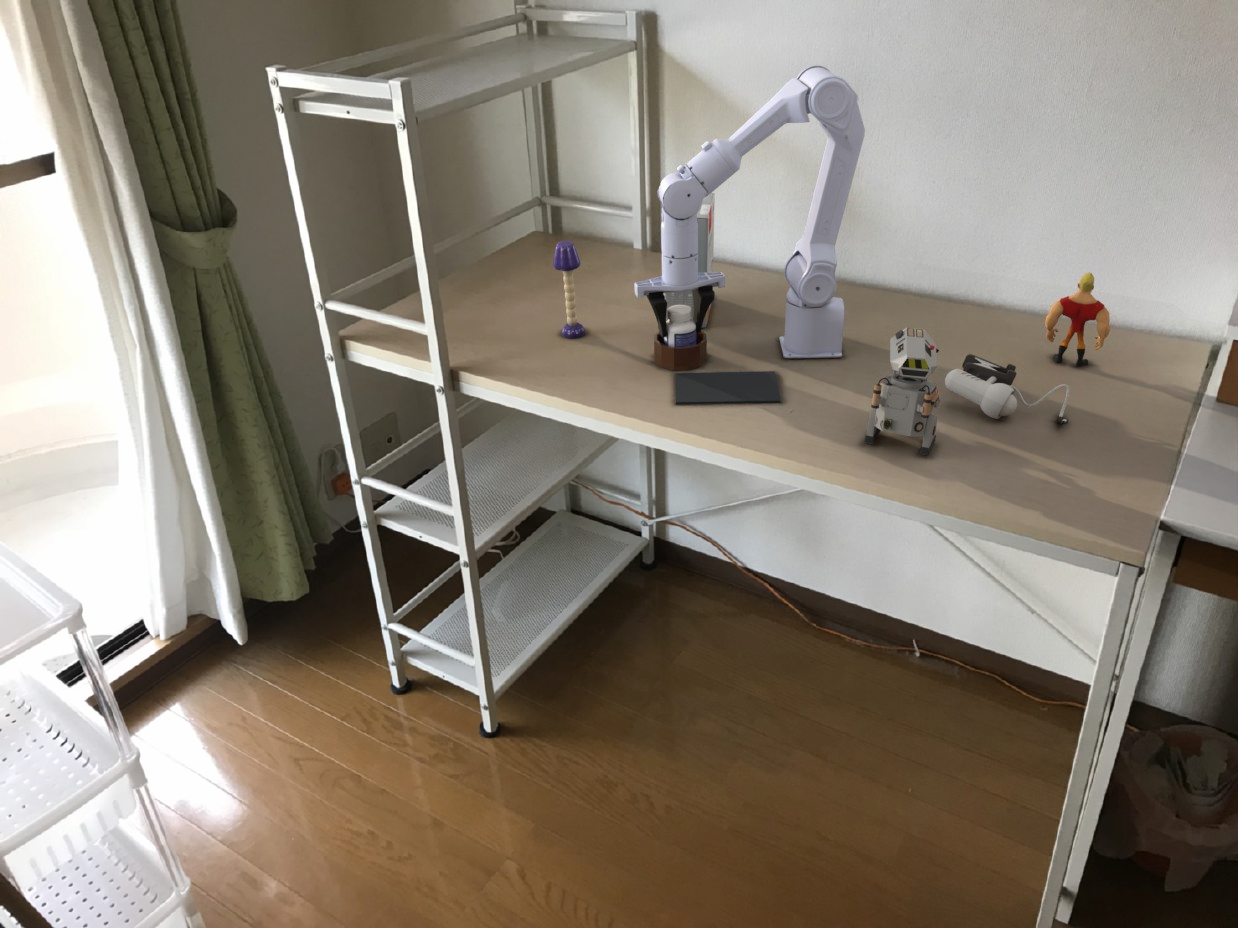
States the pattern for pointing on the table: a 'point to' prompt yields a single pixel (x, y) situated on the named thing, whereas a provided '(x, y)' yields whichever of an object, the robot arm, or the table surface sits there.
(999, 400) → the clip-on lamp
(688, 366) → the brown bowl
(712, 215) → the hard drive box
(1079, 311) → the action figure
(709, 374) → the mat
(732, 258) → the table surface
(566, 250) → the toy lamp
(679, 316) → the pill bottle
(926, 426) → the figurine
